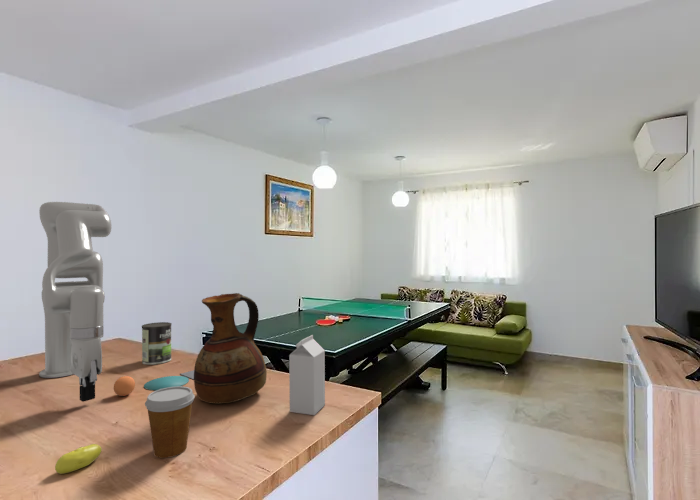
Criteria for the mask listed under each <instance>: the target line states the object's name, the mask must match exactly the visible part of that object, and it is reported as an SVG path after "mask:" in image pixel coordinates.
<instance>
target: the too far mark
mask: <svg viewBox="0 0 700 500" xmlns="http://www.w3.org/2000/svg"><path fill="white" fill-rule="evenodd" d="M179 376H184V377H187V378H188V379H191V380H193V381H194V369H193V370H190V371H186V372H183V373H179Z"/></svg>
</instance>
